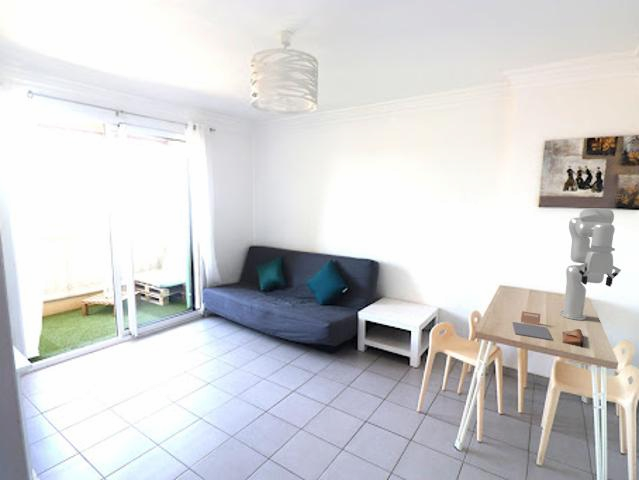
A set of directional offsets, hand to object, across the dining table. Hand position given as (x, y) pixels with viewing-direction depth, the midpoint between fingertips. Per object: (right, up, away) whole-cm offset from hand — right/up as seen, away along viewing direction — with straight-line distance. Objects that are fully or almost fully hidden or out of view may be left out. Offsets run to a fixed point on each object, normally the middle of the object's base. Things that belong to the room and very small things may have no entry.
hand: (596, 284), depth 161 cm
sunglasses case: (-5, -30, +9) cm, 31 cm away
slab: (-13, -26, +30) cm, 42 cm away
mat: (-20, -27, +18) cm, 38 cm away
